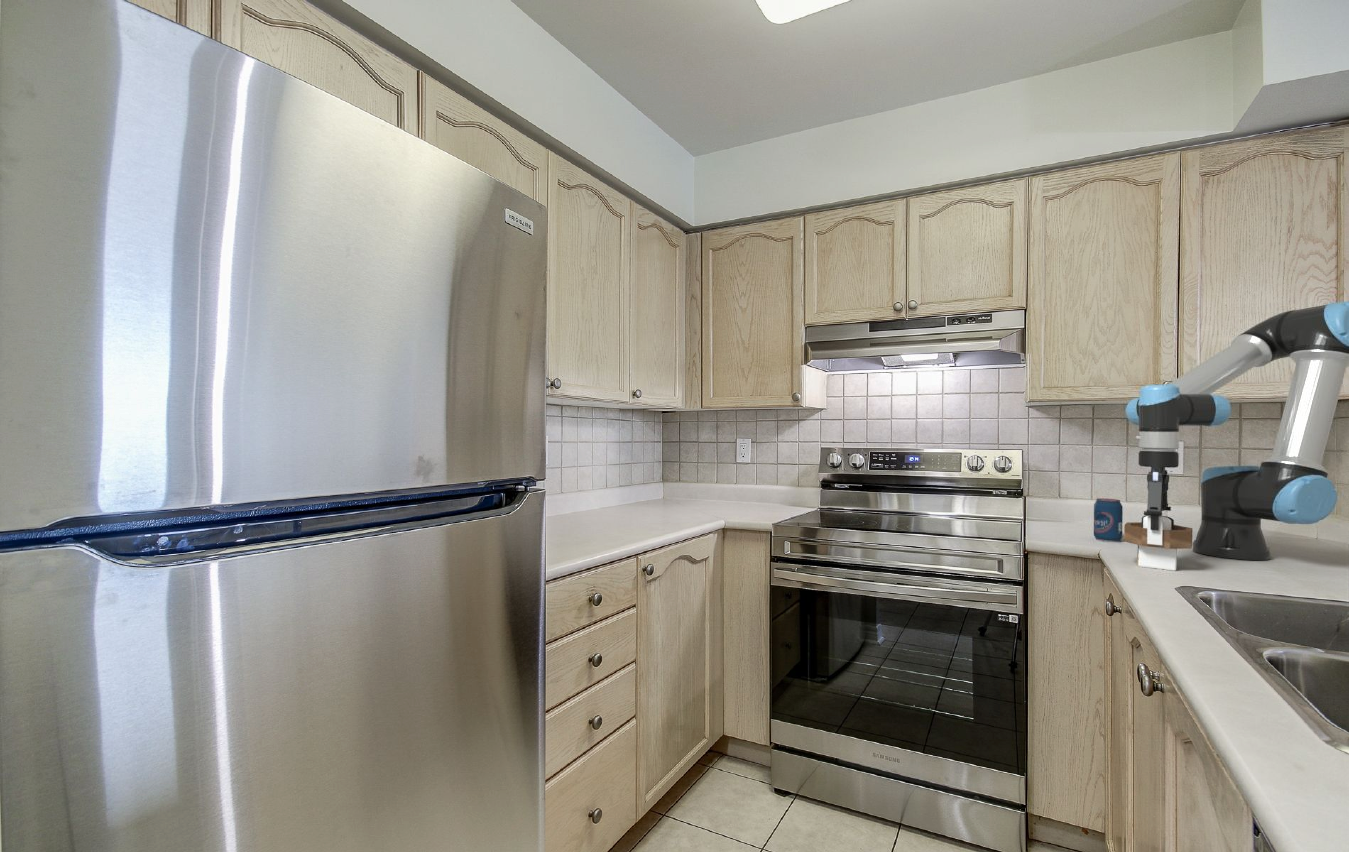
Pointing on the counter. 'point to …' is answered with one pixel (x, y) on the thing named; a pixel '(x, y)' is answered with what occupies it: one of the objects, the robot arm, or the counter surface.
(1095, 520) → the soda can
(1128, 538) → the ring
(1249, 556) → the robot arm
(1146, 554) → the medicine bottle
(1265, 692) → the counter surface
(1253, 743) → the counter surface
